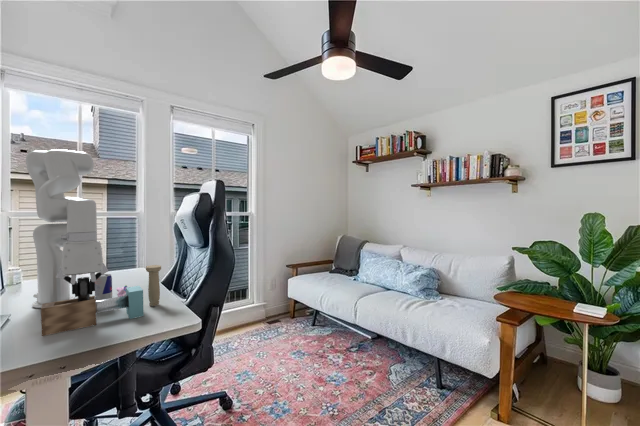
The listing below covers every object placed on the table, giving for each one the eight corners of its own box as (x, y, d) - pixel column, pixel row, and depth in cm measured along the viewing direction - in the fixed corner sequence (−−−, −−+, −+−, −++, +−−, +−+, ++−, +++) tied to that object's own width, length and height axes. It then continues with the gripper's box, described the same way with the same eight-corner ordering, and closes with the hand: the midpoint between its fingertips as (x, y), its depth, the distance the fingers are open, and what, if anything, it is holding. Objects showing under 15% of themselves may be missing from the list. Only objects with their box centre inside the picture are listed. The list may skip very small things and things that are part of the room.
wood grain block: (41, 336, 88) (41, 308, 88) (43, 329, 93) (42, 303, 92) (96, 324, 96) (95, 299, 96) (95, 319, 101) (94, 295, 101)
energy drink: (115, 305, 115) (114, 274, 115) (100, 309, 111) (99, 277, 110) (107, 303, 118) (106, 273, 118) (91, 308, 113) (91, 276, 113)
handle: (150, 308, 111) (149, 268, 111) (144, 305, 116) (144, 266, 115) (164, 305, 115) (163, 266, 114) (158, 302, 119) (157, 264, 119)
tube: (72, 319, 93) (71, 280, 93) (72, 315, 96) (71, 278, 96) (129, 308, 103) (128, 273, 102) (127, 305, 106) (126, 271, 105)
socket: (129, 318, 101) (129, 292, 101) (126, 312, 107) (125, 287, 107) (143, 316, 104) (143, 290, 103) (139, 310, 110) (139, 285, 110)
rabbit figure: (138, 302, 124) (128, 290, 134) (138, 288, 123) (128, 277, 133) (120, 306, 119) (111, 293, 130) (120, 291, 118) (112, 279, 129)
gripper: (47, 240, 88) (48, 303, 88) (114, 236, 98) (115, 292, 99) (48, 238, 94) (50, 297, 94) (112, 235, 104) (113, 288, 104)
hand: (83, 294), depth 96 cm, fingers closed on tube, 3 cm apart
